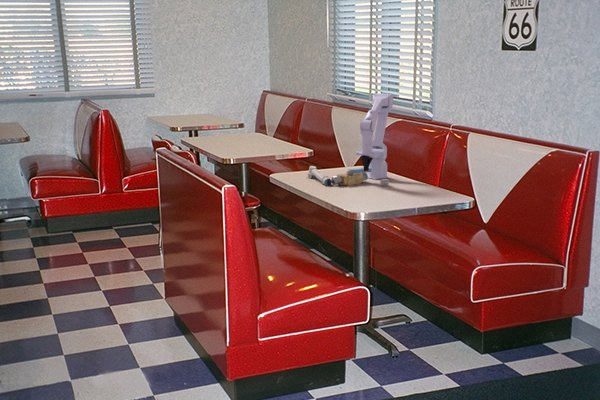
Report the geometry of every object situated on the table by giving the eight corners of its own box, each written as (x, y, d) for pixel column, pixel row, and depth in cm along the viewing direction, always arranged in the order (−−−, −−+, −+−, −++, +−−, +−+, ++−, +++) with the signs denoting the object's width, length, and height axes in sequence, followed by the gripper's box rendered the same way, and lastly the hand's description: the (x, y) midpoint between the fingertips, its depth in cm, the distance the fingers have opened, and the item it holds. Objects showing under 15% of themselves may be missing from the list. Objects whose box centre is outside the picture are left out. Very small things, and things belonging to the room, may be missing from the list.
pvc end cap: (384, 184, 368) (384, 178, 367) (390, 185, 365) (390, 180, 364) (378, 185, 365) (378, 179, 365) (384, 186, 362) (384, 180, 362)
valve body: (360, 180, 378) (360, 171, 377) (369, 182, 372) (369, 173, 371) (329, 184, 365) (329, 175, 364) (338, 187, 359) (338, 177, 358)
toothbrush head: (323, 178, 360) (306, 163, 382) (322, 191, 363) (305, 175, 385) (333, 178, 362) (315, 163, 384) (332, 191, 364) (314, 175, 386)
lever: (345, 174, 368) (345, 169, 368) (368, 172, 375) (368, 167, 374) (348, 175, 365) (348, 170, 365) (371, 173, 372) (371, 168, 371)
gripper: (351, 142, 370) (350, 169, 373) (370, 146, 359) (369, 173, 362) (362, 141, 374) (361, 168, 377) (381, 145, 363) (380, 172, 366)
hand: (366, 170), depth 370 cm, fingers closed, pressing on lever
